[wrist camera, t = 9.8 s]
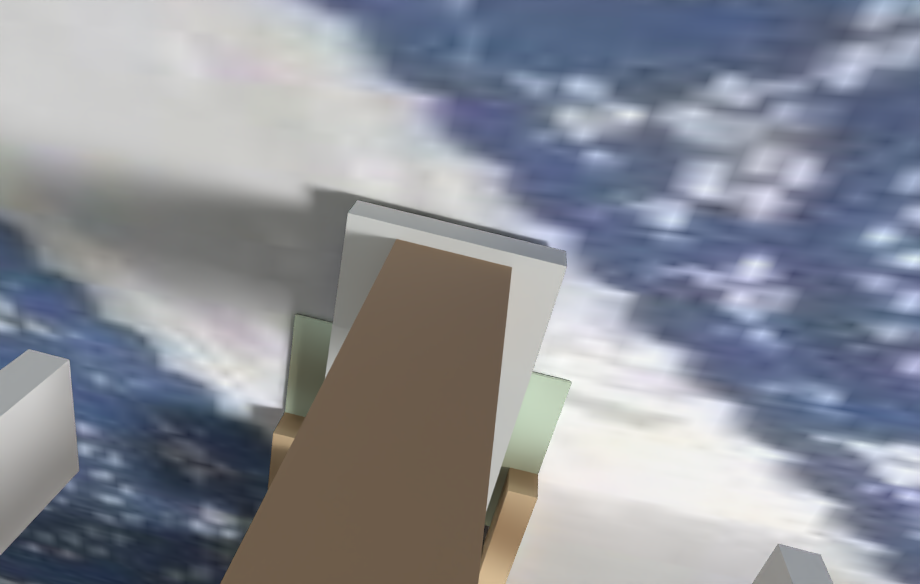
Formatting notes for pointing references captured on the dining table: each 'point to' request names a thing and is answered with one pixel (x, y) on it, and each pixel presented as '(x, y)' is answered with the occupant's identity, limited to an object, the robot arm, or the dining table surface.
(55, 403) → the robot arm
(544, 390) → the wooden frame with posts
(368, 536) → the post and table model
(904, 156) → the dining table surface
